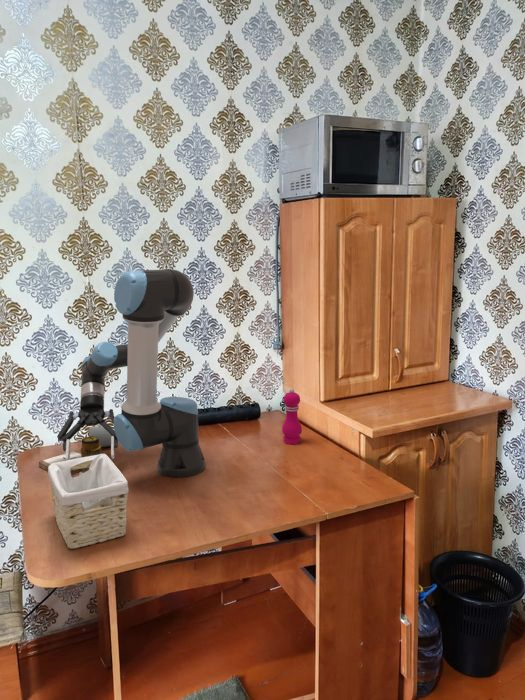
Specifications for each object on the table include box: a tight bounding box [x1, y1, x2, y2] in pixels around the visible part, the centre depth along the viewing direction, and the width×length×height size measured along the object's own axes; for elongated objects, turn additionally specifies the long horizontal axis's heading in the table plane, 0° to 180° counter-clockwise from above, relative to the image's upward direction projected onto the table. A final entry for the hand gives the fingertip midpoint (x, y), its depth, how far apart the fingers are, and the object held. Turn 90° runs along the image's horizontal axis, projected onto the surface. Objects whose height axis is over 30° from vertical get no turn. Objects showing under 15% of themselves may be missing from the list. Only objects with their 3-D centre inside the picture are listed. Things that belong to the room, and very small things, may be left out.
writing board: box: [38, 450, 83, 476], centre depth 186 cm, size 14×13×2 cm
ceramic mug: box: [88, 426, 112, 448], centre depth 204 cm, size 11×8×8 cm
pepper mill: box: [281, 387, 303, 445], centre depth 204 cm, size 7×7×20 cm
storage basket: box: [47, 453, 129, 549], centre depth 146 cm, size 24×16×15 cm
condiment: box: [78, 436, 102, 475], centre depth 177 cm, size 7×8×12 cm
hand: (90, 458), depth 176 cm, fingers open, 13 cm apart
